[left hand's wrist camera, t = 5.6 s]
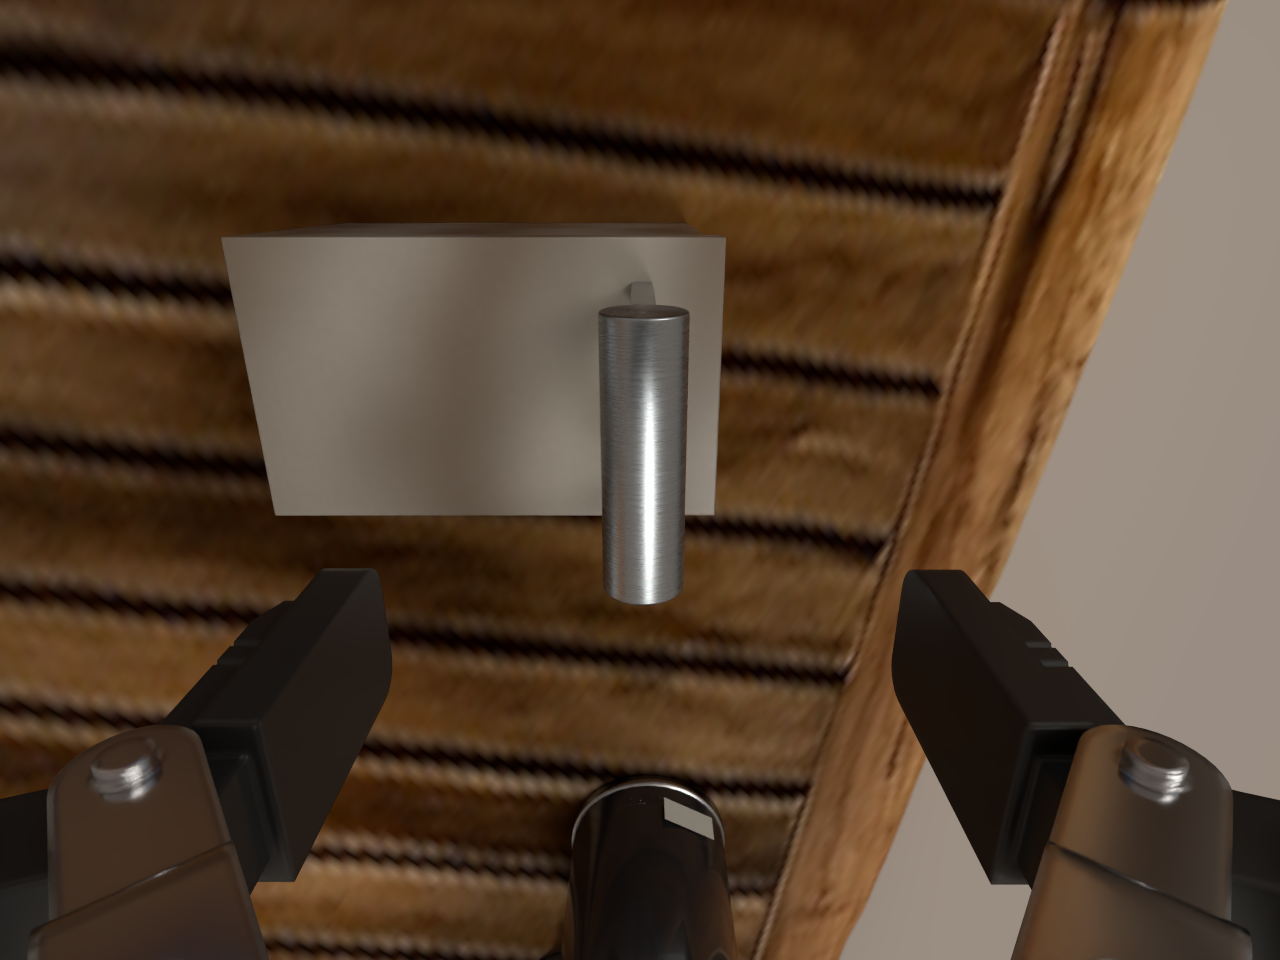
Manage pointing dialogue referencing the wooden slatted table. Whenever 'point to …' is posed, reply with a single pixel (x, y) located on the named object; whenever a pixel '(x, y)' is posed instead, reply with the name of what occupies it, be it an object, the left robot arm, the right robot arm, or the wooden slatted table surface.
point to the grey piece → (491, 381)
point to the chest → (493, 229)
